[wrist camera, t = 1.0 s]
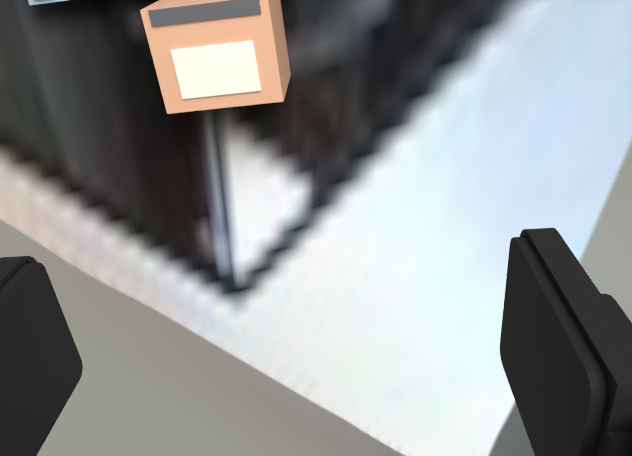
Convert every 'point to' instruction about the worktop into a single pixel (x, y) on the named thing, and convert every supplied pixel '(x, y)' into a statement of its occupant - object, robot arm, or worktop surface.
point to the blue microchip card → (42, 1)
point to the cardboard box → (218, 52)
